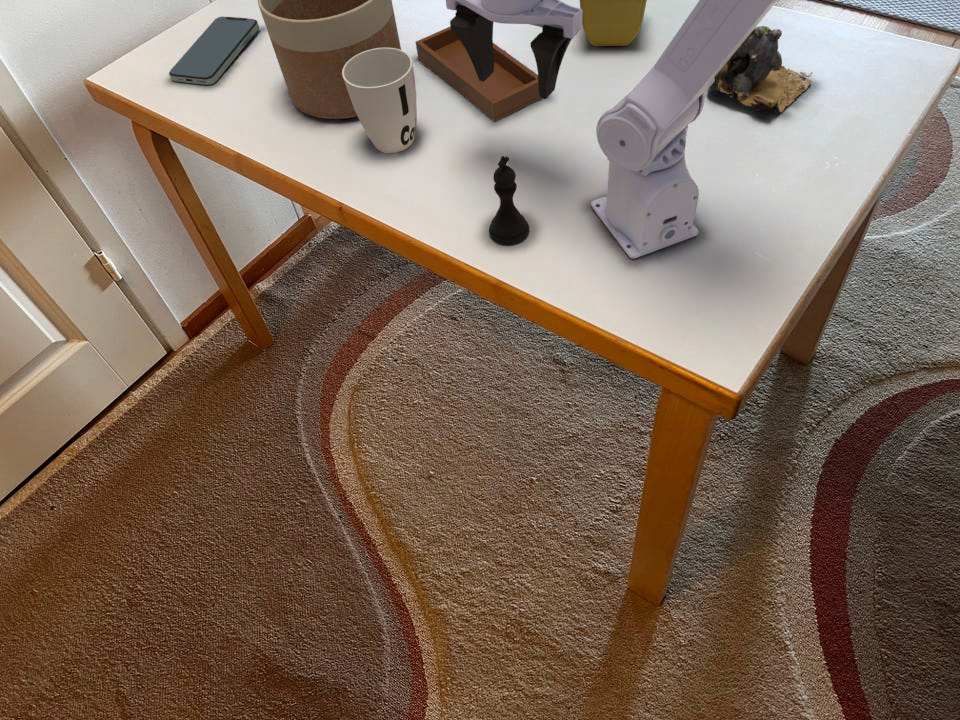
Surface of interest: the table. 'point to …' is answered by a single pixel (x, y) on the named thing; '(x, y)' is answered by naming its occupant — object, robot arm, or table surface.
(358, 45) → the planter
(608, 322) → the table surface
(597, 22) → the flower pot
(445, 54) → the brown rectangular tray
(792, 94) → the figurine
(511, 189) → the chess piece
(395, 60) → the cup
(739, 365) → the table surface
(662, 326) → the table surface
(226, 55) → the smartphone
